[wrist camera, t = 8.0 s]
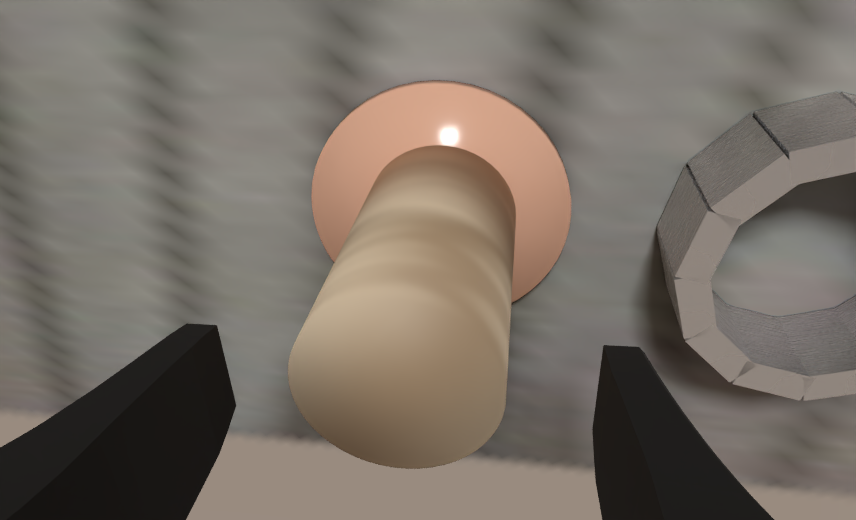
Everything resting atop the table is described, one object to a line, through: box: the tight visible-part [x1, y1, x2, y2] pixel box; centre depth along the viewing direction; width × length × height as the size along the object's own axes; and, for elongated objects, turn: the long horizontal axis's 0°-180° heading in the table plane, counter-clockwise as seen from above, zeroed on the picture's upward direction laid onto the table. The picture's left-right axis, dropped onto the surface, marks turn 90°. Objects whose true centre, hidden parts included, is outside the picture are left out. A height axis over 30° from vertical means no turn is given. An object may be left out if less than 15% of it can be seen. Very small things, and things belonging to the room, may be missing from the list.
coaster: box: [312, 80, 571, 303], centre depth 18 cm, size 7×7×1 cm
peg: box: [288, 145, 516, 469], centre depth 15 cm, size 4×4×7 cm
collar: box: [657, 92, 856, 401], centre depth 17 cm, size 7×7×2 cm
